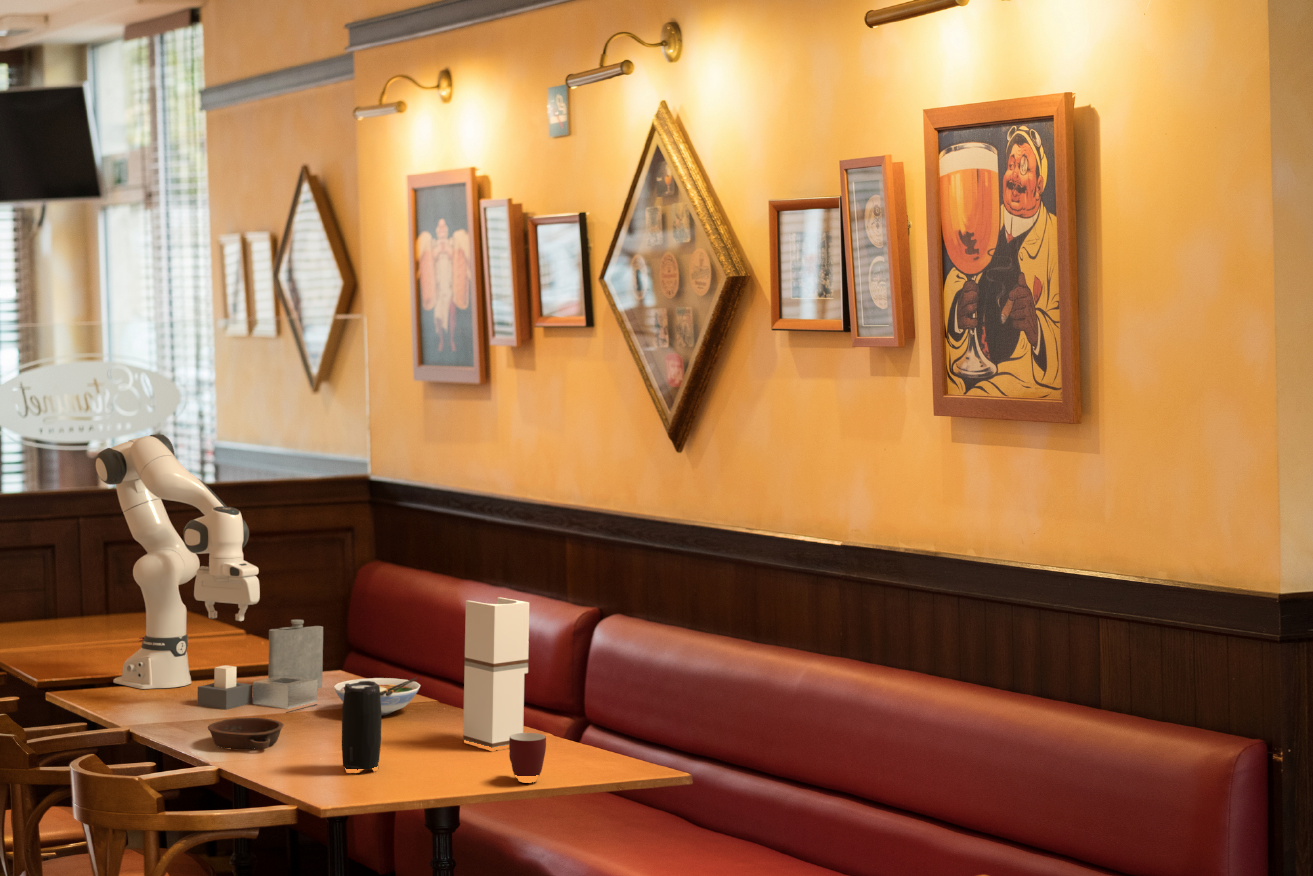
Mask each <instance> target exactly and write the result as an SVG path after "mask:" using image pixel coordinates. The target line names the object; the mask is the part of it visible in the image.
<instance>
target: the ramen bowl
mask: <svg viewBox="0 0 1313 876" xmlns="http://www.w3.org/2000/svg"><path fill="white" fill-rule="evenodd" d="M415 680H418V677H413V678H411V679H409V680H408V679H403V678H401V679H400V678H393V677H392V678H391V677H389V678H388V677H385V678H384V677H373V678H370V677H369V678H357V679H349V680H345V681H341V682H338V683H336V684H335V685H333V690H334V691H335V693H336V695H337V696H338V698H339V699H340V700H341V701H342V702H343V700H344V693H345V690H344V687H345V684H348V683H349V684H353V683H358V682H360V681H373V682H375V683H376V684H378V685H379V687H380V699H381V717H382V716H388V715H390V714H392V713H393V712H395V711H398V710H401V709H403V708H405V707H406V706H407V705H409V704H410V703H411V701H413V699H414V698H415V697H416V694H417V693H418V692H419V690H420V688H421V684H420V683H419V682H417V681H415Z"/></svg>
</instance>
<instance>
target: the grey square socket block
mask: <svg viewBox="0 0 1313 876" xmlns="http://www.w3.org/2000/svg"><path fill="white" fill-rule="evenodd" d="M196 699H197V704H196V705H197V707H205V708H209V709H210V708H211V709H216V710H217V709H220V710H225V711H226V710H231V709H235V708H240V707H243V706H246V705H251V704H253V683H252V684H251V683H243V682H237V681H236V686H235V687H231V688H227V689H225V688H217V687H214V682H213V683H209V684H204V685H200V686H197V698H196Z"/></svg>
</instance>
